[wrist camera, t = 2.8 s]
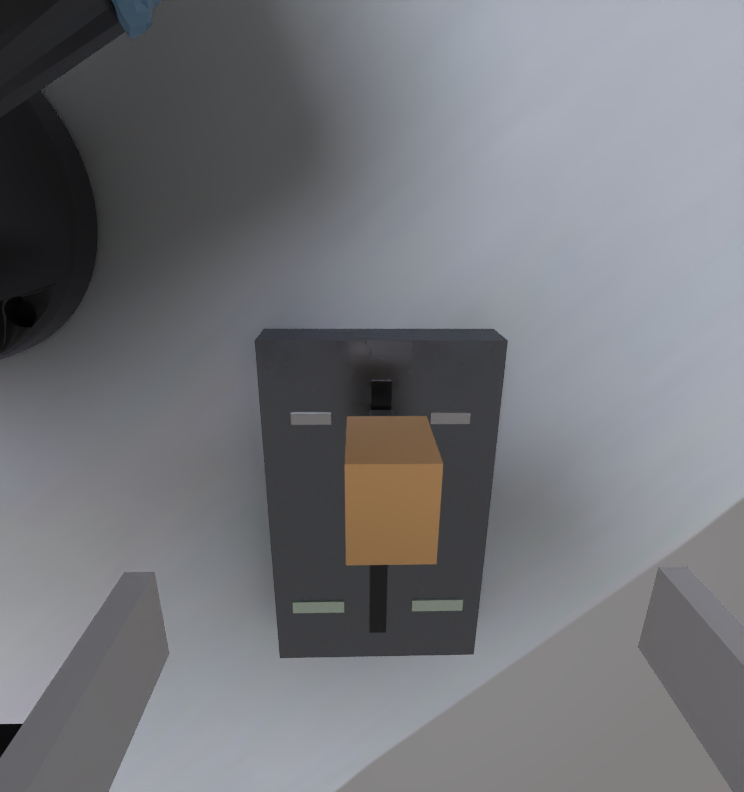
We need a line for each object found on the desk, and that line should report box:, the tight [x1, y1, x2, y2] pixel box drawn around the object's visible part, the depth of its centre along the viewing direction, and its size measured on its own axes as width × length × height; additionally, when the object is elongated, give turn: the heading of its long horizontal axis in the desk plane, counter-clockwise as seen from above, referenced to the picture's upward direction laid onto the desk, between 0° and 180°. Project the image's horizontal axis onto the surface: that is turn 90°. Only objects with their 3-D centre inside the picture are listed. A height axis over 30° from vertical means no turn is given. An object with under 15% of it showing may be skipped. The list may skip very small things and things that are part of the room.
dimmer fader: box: [345, 410, 443, 565], centre depth 20 cm, size 4×3×8 cm
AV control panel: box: [255, 329, 508, 658], centre depth 27 cm, size 20×12×3 cm, turn 0°
